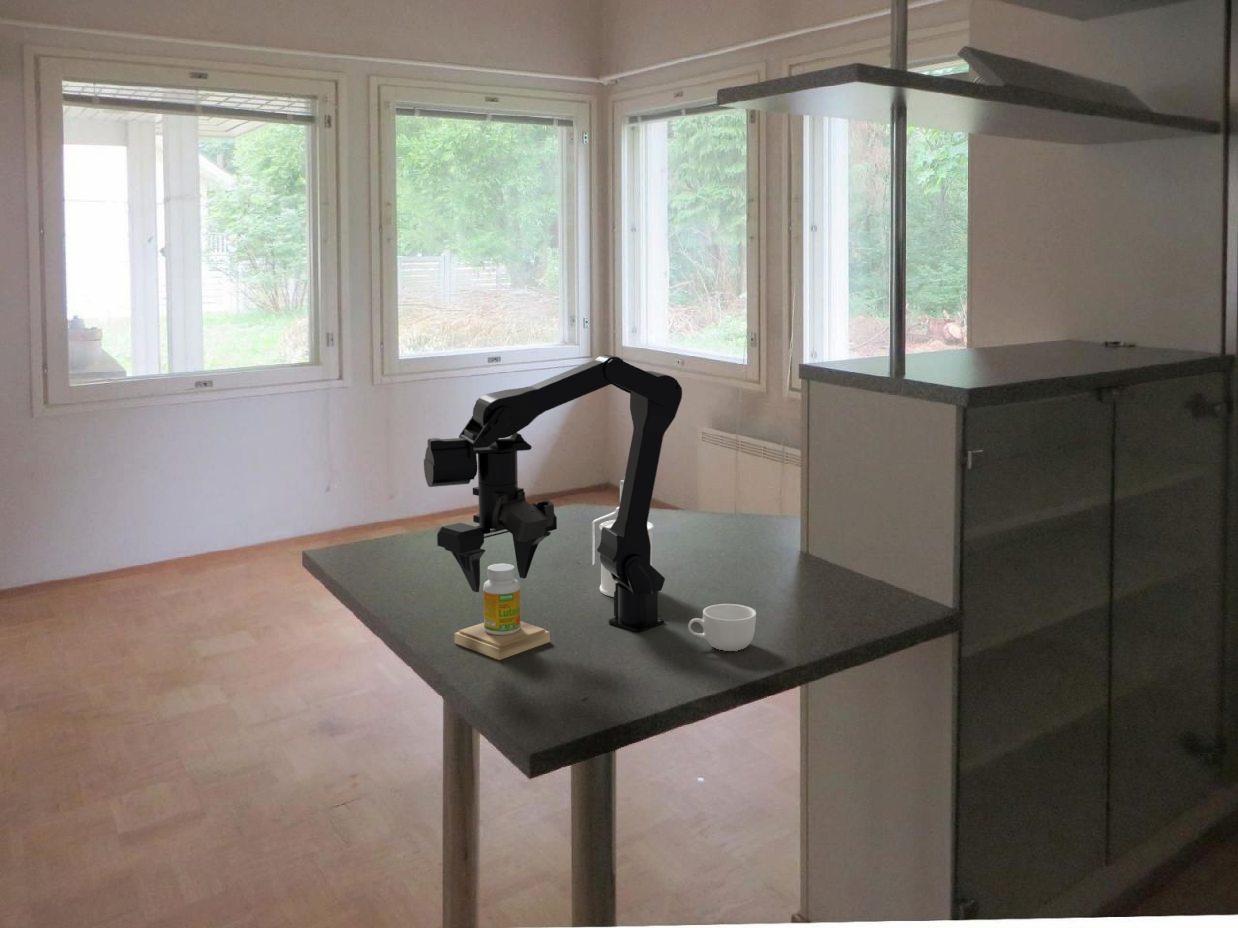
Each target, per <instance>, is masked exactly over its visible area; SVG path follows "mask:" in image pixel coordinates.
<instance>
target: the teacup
mask: <svg viewBox="0 0 1238 928" xmlns="http://www.w3.org/2000/svg"><path fill="white" fill-rule="evenodd" d="M756 620H757V611H756V610H755V609H754V608H752V607H750V606H746V605H743V604H735V603H734V604H733V603H719V604H713V605H709V606H706V607H705V608H703V610H702V618H697V617H695V618H692V619H691V620H689V622H688V625H687V629H688V632H689V633H690V634H691V635H693V636H695V637H697V638H702V639H705V640H706V642H707V643H709V646H711V647H712V648H714V649H715V648H716V649H715V650H717V649H719V650H718V651H720V650H724V651H723V652H725V651H735V652H739V651H738V650H740V651H742V650H743V649H745V648H747V647H748V646H749V645H750V644H751V643H752V641H753V640H754V639H753V638H754V635H755V629H756ZM696 622H697V623H698V624H699V625H700V626H701V627H702V629H703V632H702V633H701V632H695V631H694V630H692V624H693V623H696ZM741 649H742V650H741Z"/></svg>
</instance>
